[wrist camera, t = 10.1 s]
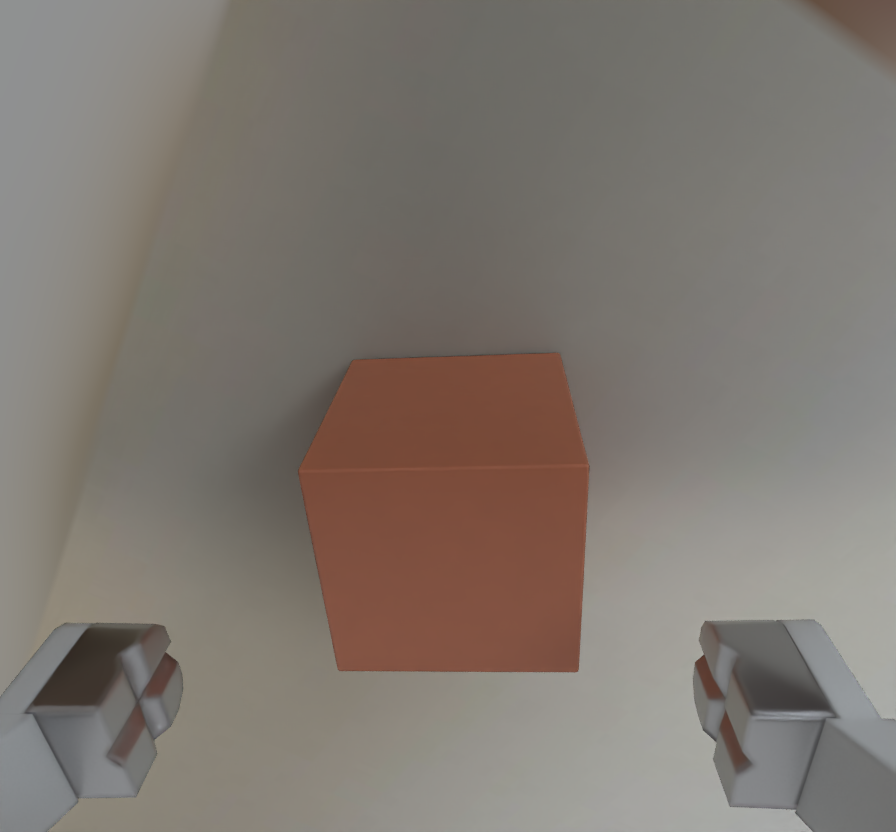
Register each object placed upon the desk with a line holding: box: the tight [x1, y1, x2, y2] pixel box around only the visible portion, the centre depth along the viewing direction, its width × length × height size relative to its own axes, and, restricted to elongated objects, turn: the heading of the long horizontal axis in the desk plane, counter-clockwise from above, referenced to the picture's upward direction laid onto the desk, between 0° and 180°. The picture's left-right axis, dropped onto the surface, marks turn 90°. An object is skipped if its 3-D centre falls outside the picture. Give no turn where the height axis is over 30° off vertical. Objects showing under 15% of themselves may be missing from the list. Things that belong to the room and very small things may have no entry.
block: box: [298, 353, 589, 672], centre depth 13 cm, size 4×4×4 cm
